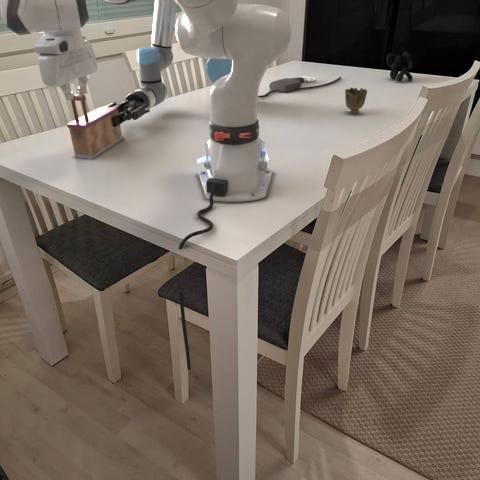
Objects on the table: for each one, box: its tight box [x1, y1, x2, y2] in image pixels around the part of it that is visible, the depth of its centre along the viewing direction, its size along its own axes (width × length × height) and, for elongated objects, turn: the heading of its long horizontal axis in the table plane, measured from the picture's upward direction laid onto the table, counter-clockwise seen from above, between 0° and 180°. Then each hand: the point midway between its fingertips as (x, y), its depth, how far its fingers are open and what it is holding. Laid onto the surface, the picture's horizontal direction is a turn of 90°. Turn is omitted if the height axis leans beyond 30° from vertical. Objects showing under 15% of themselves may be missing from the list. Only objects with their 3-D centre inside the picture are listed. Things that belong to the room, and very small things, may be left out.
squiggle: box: [385, 51, 414, 83], centre depth 198 cm, size 11×10×15 cm
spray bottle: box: [268, 75, 317, 93], centre depth 194 cm, size 3×11×24 cm
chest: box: [68, 111, 124, 160], centre depth 131 cm, size 17×6×9 cm, turn 164°
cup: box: [344, 87, 368, 115], centre depth 156 cm, size 8×7×8 cm
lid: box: [66, 94, 118, 129], centre depth 126 cm, size 18×6×8 cm, turn 164°
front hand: (77, 96), depth 120 cm, fingers open, 5 cm apart
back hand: (104, 121), depth 134 cm, fingers closed on chest, 6 cm apart
